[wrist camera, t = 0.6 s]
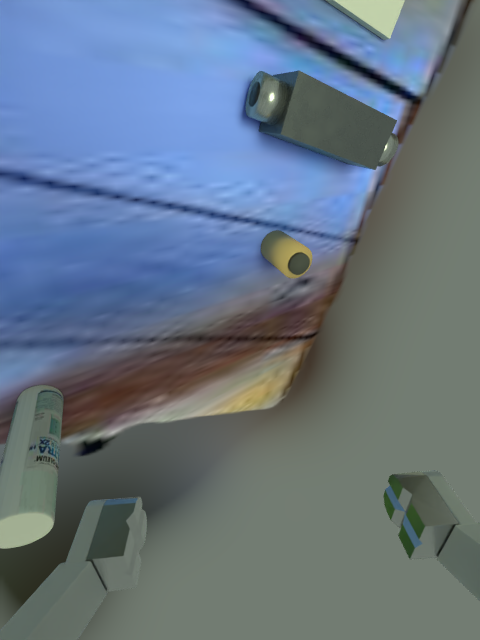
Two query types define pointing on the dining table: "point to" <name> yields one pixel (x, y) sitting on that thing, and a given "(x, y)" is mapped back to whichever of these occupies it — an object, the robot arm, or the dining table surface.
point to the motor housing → (321, 119)
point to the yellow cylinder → (286, 254)
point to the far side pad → (372, 14)
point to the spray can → (30, 467)
